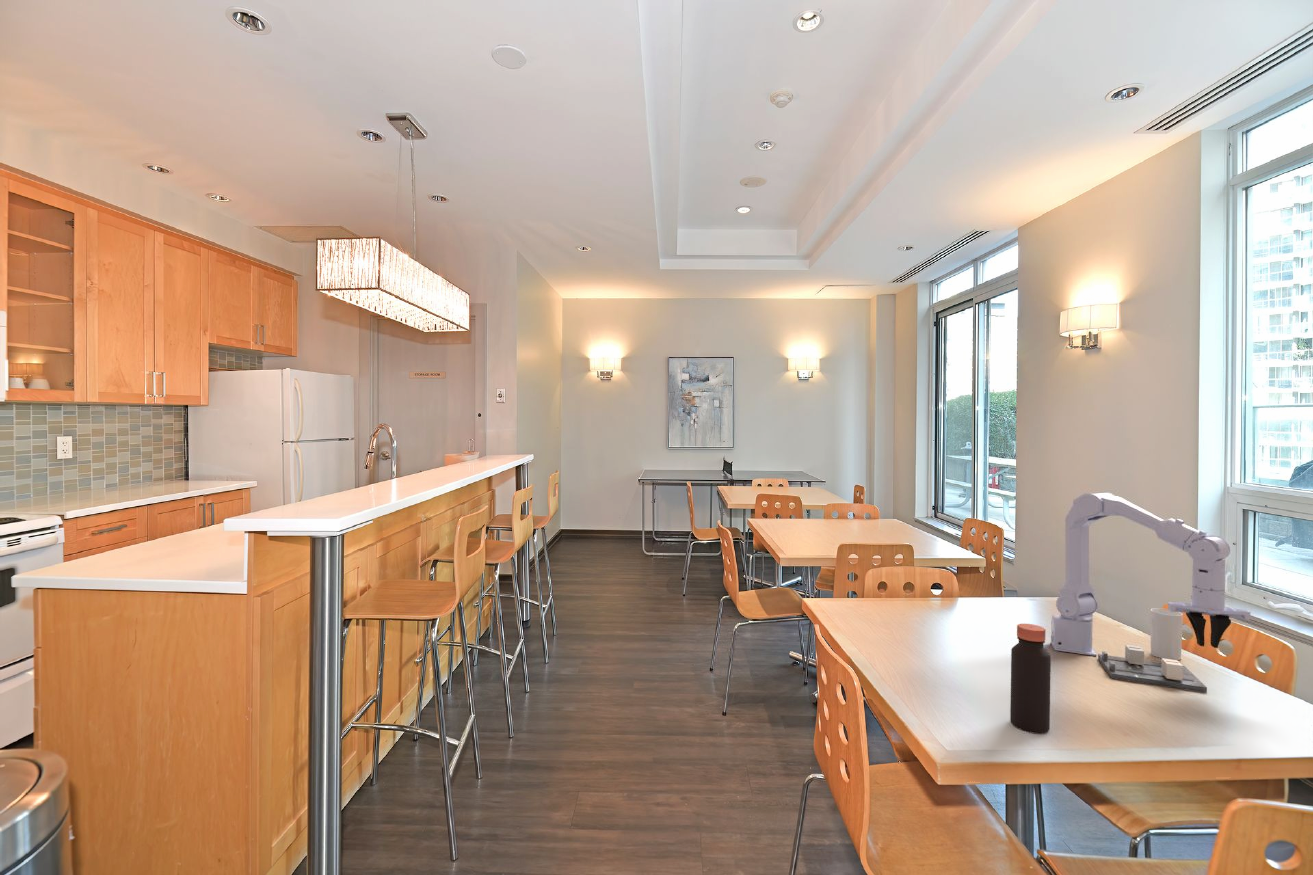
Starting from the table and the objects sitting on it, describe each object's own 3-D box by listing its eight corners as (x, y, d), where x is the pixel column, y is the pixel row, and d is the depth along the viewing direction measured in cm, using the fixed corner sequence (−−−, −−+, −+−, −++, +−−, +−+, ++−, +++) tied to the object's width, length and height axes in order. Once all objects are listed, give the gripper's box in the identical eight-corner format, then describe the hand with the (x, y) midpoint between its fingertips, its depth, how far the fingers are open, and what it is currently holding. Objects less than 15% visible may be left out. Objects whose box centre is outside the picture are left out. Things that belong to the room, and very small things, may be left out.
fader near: (1166, 678, 146) (1166, 663, 146) (1161, 672, 150) (1161, 657, 150) (1182, 680, 145) (1182, 665, 145) (1177, 674, 148) (1177, 659, 148)
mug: (1185, 662, 161) (1186, 616, 161) (1153, 658, 164) (1154, 613, 164) (1173, 650, 170) (1174, 607, 170) (1143, 646, 173) (1144, 604, 173)
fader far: (1129, 663, 156) (1129, 649, 156) (1125, 658, 159) (1125, 644, 159) (1143, 665, 154) (1144, 650, 154) (1139, 660, 158) (1139, 646, 158)
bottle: (1035, 718, 127) (1036, 621, 127) (1057, 734, 120) (1059, 632, 120) (1003, 718, 127) (1004, 621, 127) (1023, 734, 120) (1025, 632, 120)
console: (1111, 678, 149) (1111, 666, 149) (1097, 658, 163) (1098, 647, 163) (1207, 692, 142) (1207, 680, 142) (1184, 670, 155) (1184, 659, 155)
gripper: (1174, 588, 144) (1173, 645, 144) (1256, 595, 138) (1255, 656, 138) (1165, 581, 150) (1164, 637, 150) (1243, 588, 144) (1242, 646, 144)
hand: (1207, 645), depth 144 cm, fingers closed
